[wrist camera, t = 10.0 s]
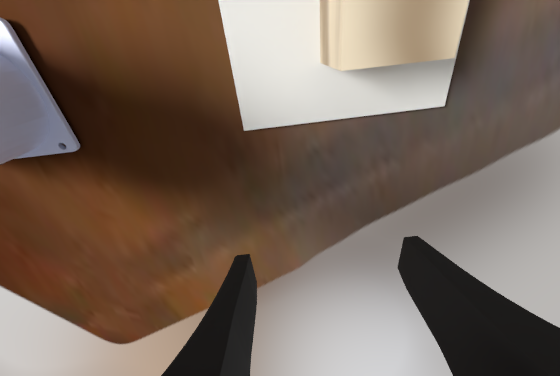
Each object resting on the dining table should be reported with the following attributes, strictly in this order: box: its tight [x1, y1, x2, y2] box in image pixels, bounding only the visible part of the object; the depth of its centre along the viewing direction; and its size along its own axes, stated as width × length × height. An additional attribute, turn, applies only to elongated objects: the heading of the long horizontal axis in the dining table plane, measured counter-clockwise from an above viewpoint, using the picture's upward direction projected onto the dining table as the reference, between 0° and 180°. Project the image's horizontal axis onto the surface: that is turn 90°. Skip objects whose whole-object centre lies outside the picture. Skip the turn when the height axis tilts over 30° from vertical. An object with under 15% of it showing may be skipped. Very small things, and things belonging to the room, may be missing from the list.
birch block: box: [320, 0, 469, 71], centre depth 11 cm, size 5×5×5 cm
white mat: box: [219, 0, 470, 131], centre depth 14 cm, size 14×12×1 cm
